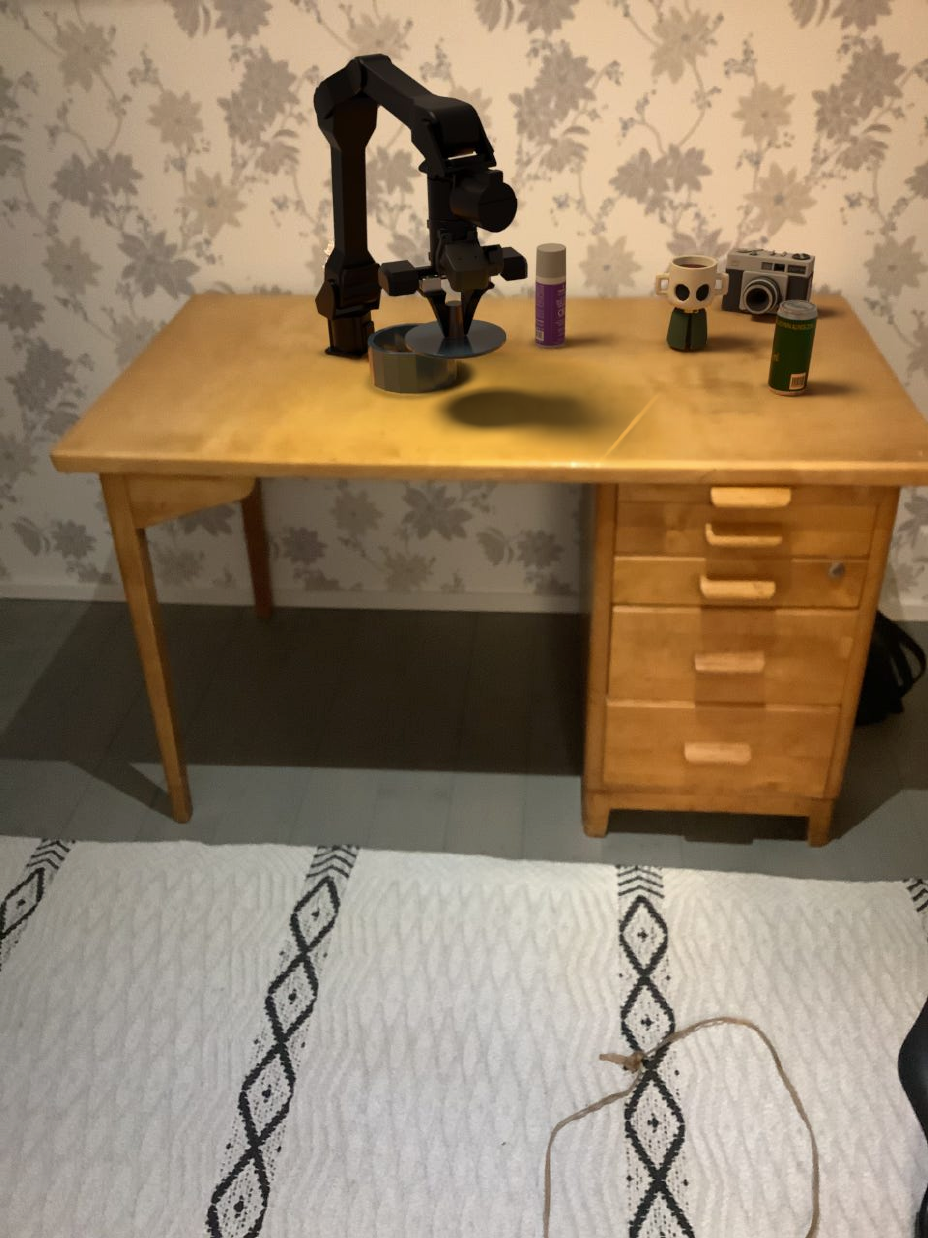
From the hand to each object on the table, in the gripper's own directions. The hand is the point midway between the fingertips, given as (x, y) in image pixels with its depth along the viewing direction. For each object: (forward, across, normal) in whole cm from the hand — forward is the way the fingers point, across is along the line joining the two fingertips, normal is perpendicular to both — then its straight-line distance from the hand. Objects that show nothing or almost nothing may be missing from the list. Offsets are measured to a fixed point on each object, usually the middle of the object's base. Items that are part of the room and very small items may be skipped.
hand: (455, 335), depth 145 cm
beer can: (+11, +46, -11) cm, 48 cm away
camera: (+11, +58, +18) cm, 62 cm away
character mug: (+11, +41, +10) cm, 43 cm away
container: (+11, +22, +19) cm, 31 cm away
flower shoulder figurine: (+12, -5, +49) cm, 50 cm away
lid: (+1, 0, 0) cm, 1 cm away
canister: (+11, -2, +14) cm, 18 cm away
